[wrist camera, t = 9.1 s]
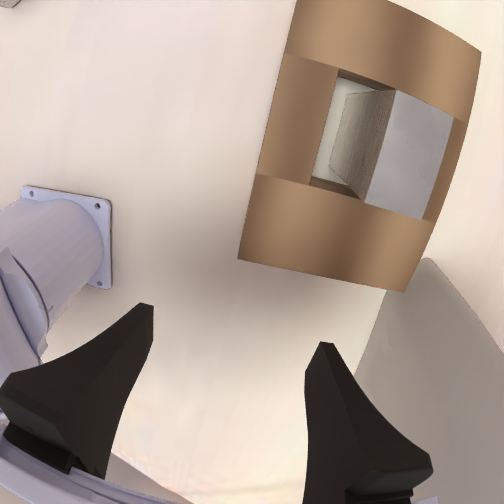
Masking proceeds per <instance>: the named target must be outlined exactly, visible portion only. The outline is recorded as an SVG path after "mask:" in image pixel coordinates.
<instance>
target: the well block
mask: <svg viewBox="0 0 504 504" xmlns="http://www.w3.org/2000/svg"><path fill="white" fill-rule="evenodd" d="M481 53H482V52H481V51H479V50H478V49H476V48H475V47H473V46H472V45H470V44H469V43H467V42H466V41H464V40H462V39H461V38H459V37H458V36H456V35H454V34H453V33H451V32H449V31H448V30H446V29H444V28H442V27H441V26H439V25H437V24H435V23H434V22H432V21H430V20H428V19H426V18H424V17H422V16H420V15H418V14H416V13H414V12H412V11H410V10H408V9H406V8H404V7H401V6H399V5H397V4H395V3H393V2H390V1H388V0H297V2H296V6H295V10H294V14H293V18H292V22H291V26H290V30H289V34H288V38H287V42H286V46H285V51H284V55H283V59H282V63H281V67H280V71H279V75H278V80H277V84H276V88H275V92H274V96H273V101H272V105H271V109H270V114H269V118H268V122H267V126H266V131H265V135H264V139H263V144H262V148H261V152H260V157H259V161H258V166H257V170H256V174H255V179H254V183H253V188H252V192H251V197H250V201H249V206H248V210H247V215H246V219H245V224H244V228H243V233H242V237H241V242H240V248H239V253H238V258H237V259H240V260H245V261H250V262H254V263H259V264H264V265H269V266H274V267H278V268H283V269H288V270H293V271H298V272H303V273H307V274H312V275H317V276H322V277H327V278H332V279H337V280H342V281H347V282H352V283H357V284H362V285H367V286H372V287H377V288H382V289H387V290H392V291H397V292H402V293H404V292H405V290H406V288H407V286H408V284H409V282H410V280H411V278H412V276H413V274H414V272H415V270H416V268H417V266H418V263H419V261H420V259H421V257H422V255H423V252H424V250H425V248H426V246H427V243H428V241H429V239H430V236H431V234H432V232H433V229H434V227H435V224H436V222H437V219H438V217H439V214H440V211H441V209H442V206H443V204H444V201H445V198H446V195H447V192H448V190H449V187H450V184H451V181H452V178H453V175H454V172H455V169H456V166H457V162H458V159H459V156H460V152H461V149H462V145H463V142H464V138H465V134H466V130H467V127H468V123H469V118H470V114H471V110H472V105H473V101H474V96H475V91H476V85H477V80H478V74H479V67H480V61H481ZM337 76H339V77H342V78H345V79H348V80H351V81H354V82H357V83H360V84H363V85H366V86H368V87H371V88H374V89H376V90H379V91H384V90H399V91H401V92H404V93H406V94H408V95H410V96H413V97H415V98H417V99H419V100H421V101H423V102H425V103H427V104H429V105H432V106H434V107H436V108H438V109H439V110H441V111H443V112H445V113H447V114H449V115H451V116H453V117H454V119H453V123H452V127H451V131H450V134H449V138H448V142H447V145H446V149H445V152H444V156H443V159H442V162H441V165H440V168H439V172H438V175H437V178H436V181H435V184H434V187H433V190H432V192H431V195H430V198H429V201H428V204H427V206H426V209H425V212H424V214H423V217H422V219H421V220H418V219H415V218H412V217H409V216H406V215H403V214H400V213H396V212H393V211H390V210H387V209H383V208H380V207H377V206H373V205H370V204H366V203H364V202H363V201H362V200H361V199H360V198H359V197H358V196H357V195H356V193H355V192H354V191H353V190H352V189H351V188H350V187H349V186H345V185H342V184H338V183H335V182H331V181H327V180H324V179H320V178H316V177H312V176H311V175H312V172H313V168H314V165H315V161H316V157H317V153H318V150H319V146H320V142H321V138H322V135H323V131H324V127H325V123H326V119H327V115H328V112H329V108H330V104H331V100H332V96H333V92H334V88H335V83H336V79H337Z"/></svg>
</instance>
